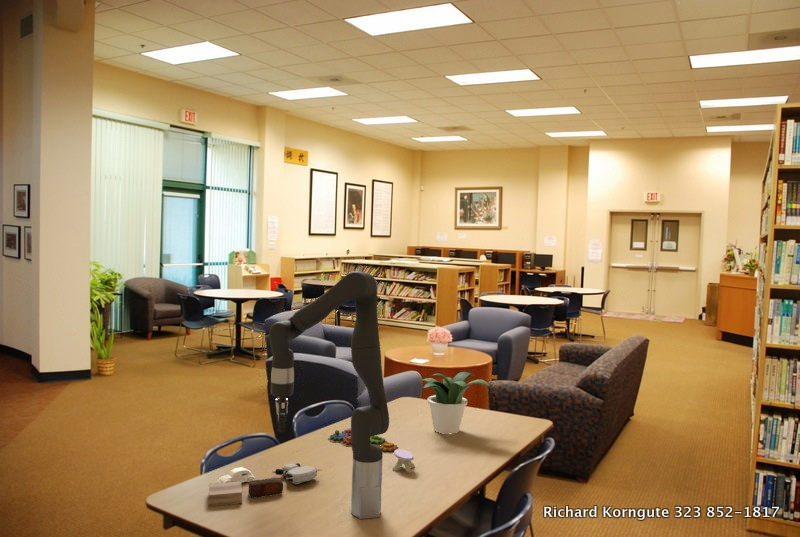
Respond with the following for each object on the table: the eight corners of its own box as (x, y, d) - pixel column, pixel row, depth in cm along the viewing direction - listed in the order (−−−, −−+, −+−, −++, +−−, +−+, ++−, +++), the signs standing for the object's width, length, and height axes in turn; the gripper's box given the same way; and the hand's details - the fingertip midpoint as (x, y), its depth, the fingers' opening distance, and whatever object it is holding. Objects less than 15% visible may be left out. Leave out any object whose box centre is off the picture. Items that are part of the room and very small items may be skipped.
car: (248, 476, 214) (248, 463, 214) (256, 482, 209) (256, 468, 209) (215, 483, 207) (215, 470, 207) (222, 490, 202) (223, 476, 202)
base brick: (242, 503, 191) (242, 492, 191) (207, 506, 188) (208, 495, 188) (241, 491, 200) (241, 481, 200) (208, 494, 197) (208, 483, 197)
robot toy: (269, 479, 214) (293, 489, 203) (269, 466, 214) (293, 476, 203) (298, 471, 222) (323, 480, 212) (298, 459, 222) (323, 467, 212)
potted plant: (474, 448, 251) (476, 387, 250) (401, 432, 268) (403, 376, 267) (501, 429, 278) (503, 374, 277) (433, 416, 296) (435, 364, 295)
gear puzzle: (406, 448, 250) (406, 438, 250) (382, 458, 237) (382, 448, 237) (349, 432, 268) (349, 423, 268) (324, 441, 255) (324, 431, 255)
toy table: (388, 464, 229) (388, 449, 229) (410, 463, 232) (411, 448, 232) (395, 474, 220) (396, 458, 220) (419, 472, 223) (419, 457, 223)
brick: (250, 499, 195) (251, 485, 195) (248, 494, 199) (248, 480, 198) (283, 494, 200) (283, 480, 200) (280, 490, 203) (280, 476, 203)
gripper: (295, 385, 196) (293, 434, 197) (292, 375, 210) (290, 421, 211) (271, 385, 194) (270, 435, 195) (270, 375, 208) (268, 421, 209)
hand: (281, 427), depth 203 cm, fingers open, 8 cm apart
